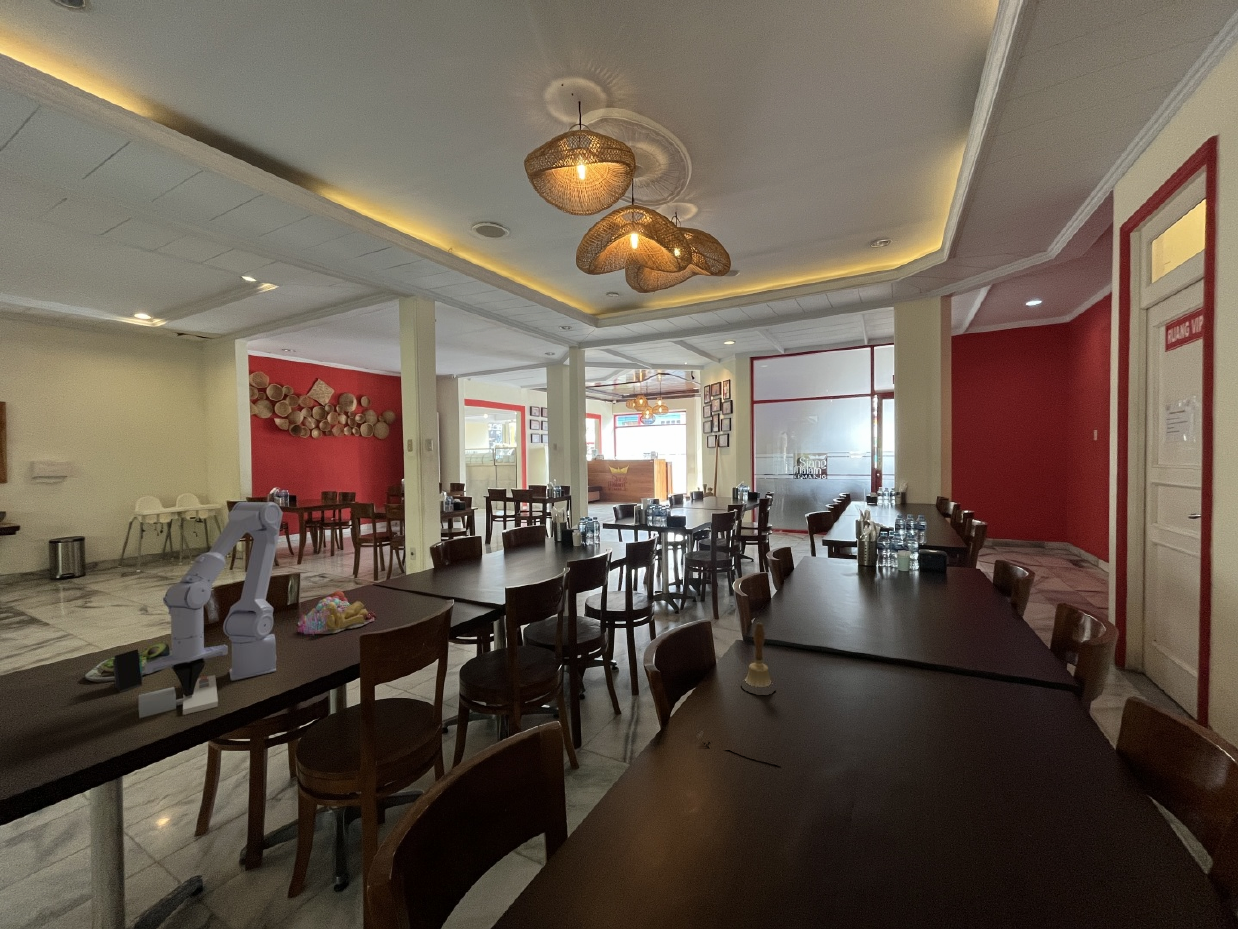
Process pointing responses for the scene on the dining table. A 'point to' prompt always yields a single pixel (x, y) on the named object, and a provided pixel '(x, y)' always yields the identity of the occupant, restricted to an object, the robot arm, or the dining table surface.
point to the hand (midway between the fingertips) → (188, 694)
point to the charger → (158, 702)
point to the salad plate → (146, 656)
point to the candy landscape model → (334, 616)
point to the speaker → (127, 670)
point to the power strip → (202, 696)
